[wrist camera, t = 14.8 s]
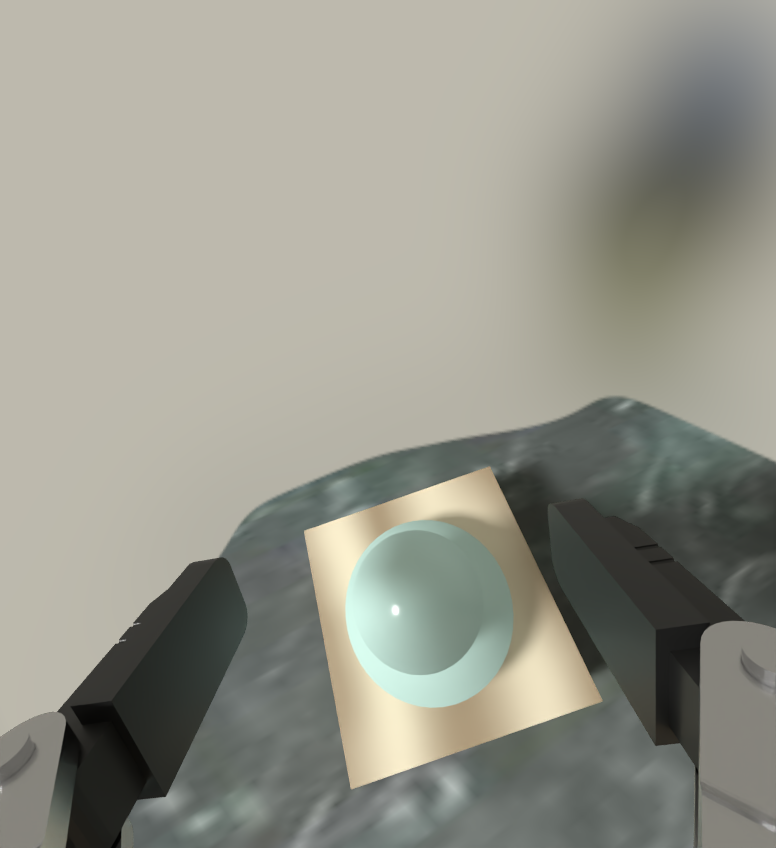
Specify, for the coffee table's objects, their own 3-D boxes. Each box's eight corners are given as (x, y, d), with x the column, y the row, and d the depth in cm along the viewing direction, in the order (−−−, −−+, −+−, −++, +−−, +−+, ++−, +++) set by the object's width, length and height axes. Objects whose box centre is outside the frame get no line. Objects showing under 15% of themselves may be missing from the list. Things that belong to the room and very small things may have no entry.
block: (483, 490, 27) (489, 466, 22) (571, 683, 21) (602, 701, 16) (328, 544, 27) (304, 530, 22) (372, 753, 21) (351, 789, 16)
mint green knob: (484, 517, 21) (501, 466, 14) (529, 686, 17) (583, 732, 10) (348, 540, 21) (300, 502, 14) (362, 709, 18) (304, 768, 11)
